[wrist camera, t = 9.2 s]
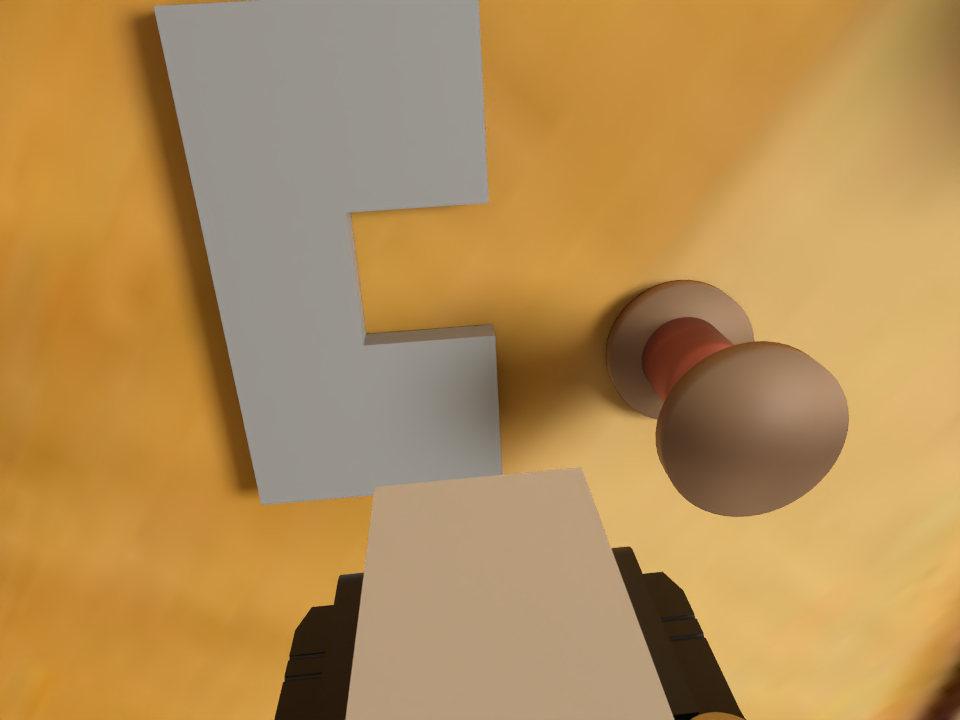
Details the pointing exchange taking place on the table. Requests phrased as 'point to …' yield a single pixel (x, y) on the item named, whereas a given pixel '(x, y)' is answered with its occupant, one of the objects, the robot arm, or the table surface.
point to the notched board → (335, 229)
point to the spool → (725, 400)
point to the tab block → (497, 607)
